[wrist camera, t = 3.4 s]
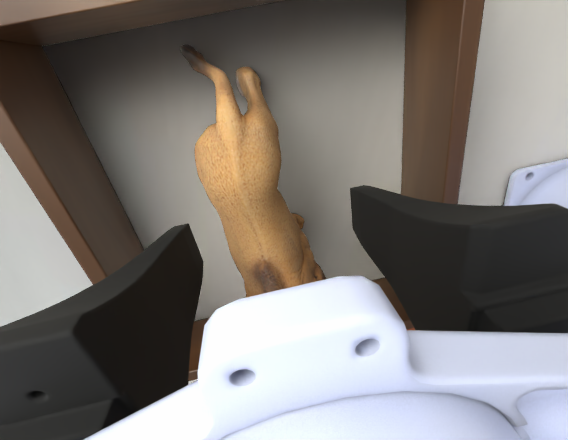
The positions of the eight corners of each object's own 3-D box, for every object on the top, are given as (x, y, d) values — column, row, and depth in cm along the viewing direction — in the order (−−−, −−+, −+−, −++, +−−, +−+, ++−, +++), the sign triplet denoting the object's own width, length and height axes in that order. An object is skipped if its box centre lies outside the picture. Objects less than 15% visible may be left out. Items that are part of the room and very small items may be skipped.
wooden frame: (424, -50, 12) (499, -101, 9) (408, 279, 21) (442, 321, 17) (11, 27, 12) (-90, 6, 8) (174, 334, 20) (159, 388, 17)
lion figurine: (343, 258, 19) (414, 387, 11) (273, 290, 20) (294, 436, 12) (234, 18, 12) (222, -81, 4) (131, 76, 13) (-47, 80, 5)
